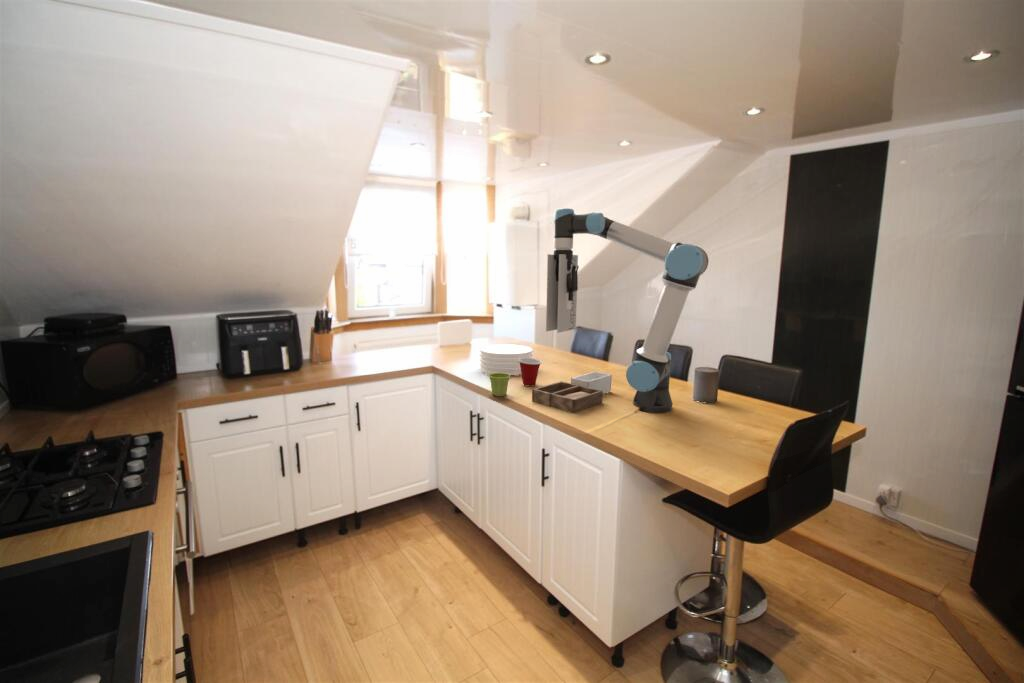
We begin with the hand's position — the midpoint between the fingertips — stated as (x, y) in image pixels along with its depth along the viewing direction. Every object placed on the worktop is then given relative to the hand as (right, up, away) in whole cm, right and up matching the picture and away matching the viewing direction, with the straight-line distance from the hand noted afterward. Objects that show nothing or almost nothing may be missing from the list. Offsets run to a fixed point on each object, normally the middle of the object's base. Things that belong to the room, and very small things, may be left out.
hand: (561, 308), depth 184 cm
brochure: (0, -9, +1) cm, 9 cm away
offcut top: (+6, -37, -1) cm, 37 cm away
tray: (+2, -39, +2) cm, 39 cm away
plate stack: (-23, -29, +63) cm, 73 cm away
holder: (+15, -36, +18) cm, 43 cm away
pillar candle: (+62, -39, +10) cm, 73 cm away
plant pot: (-25, -37, +15) cm, 47 cm away
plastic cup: (-12, -34, +32) cm, 48 cm away
